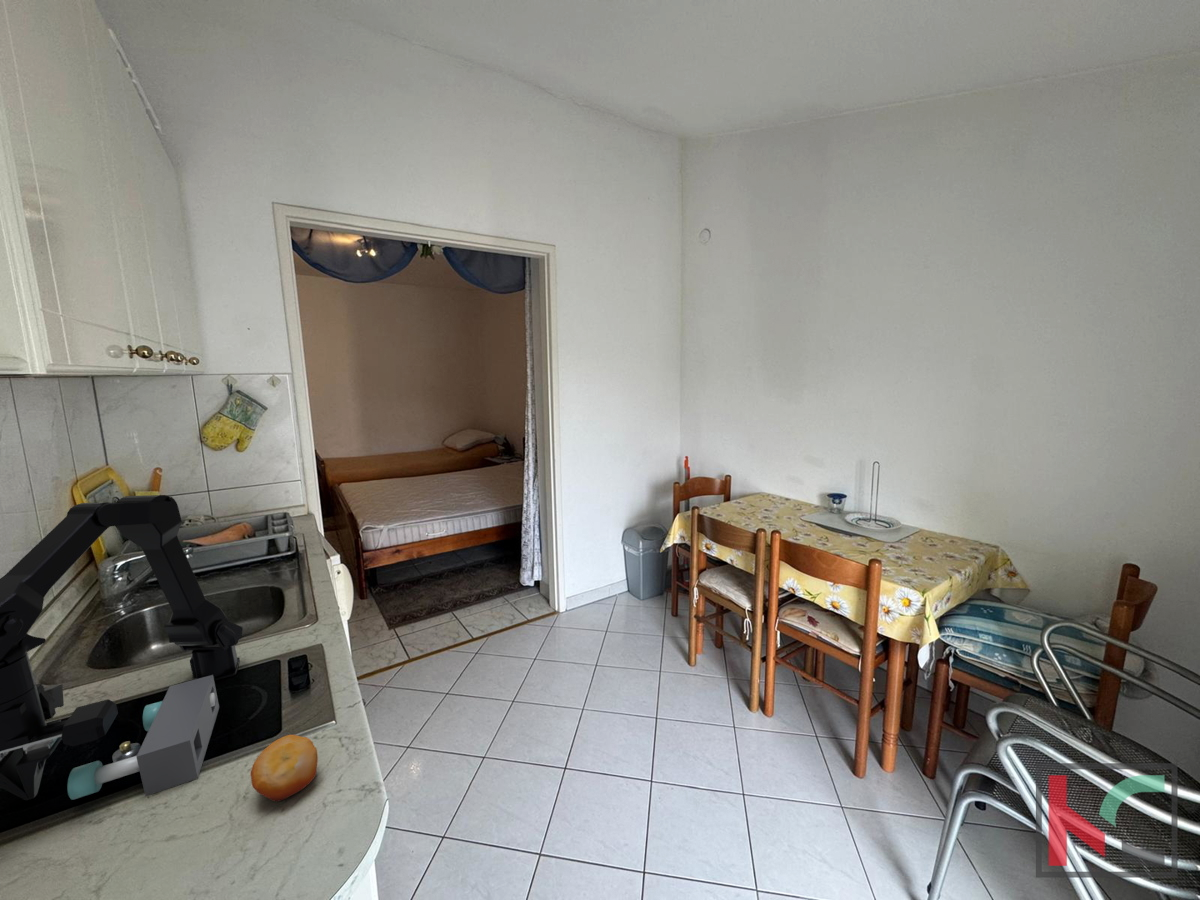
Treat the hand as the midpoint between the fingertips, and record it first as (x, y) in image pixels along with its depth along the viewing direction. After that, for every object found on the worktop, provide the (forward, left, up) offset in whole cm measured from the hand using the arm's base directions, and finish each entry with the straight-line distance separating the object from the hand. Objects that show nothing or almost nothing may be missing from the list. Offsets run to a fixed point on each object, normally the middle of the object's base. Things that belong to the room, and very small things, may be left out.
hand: (32, 796), depth 68 cm
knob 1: (-9, 0, -2) cm, 9 cm away
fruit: (-30, +12, -4) cm, 33 cm away
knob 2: (-14, -12, -2) cm, 18 cm away
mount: (-15, -6, -3) cm, 16 cm away
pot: (-8, -6, -4) cm, 11 cm away
